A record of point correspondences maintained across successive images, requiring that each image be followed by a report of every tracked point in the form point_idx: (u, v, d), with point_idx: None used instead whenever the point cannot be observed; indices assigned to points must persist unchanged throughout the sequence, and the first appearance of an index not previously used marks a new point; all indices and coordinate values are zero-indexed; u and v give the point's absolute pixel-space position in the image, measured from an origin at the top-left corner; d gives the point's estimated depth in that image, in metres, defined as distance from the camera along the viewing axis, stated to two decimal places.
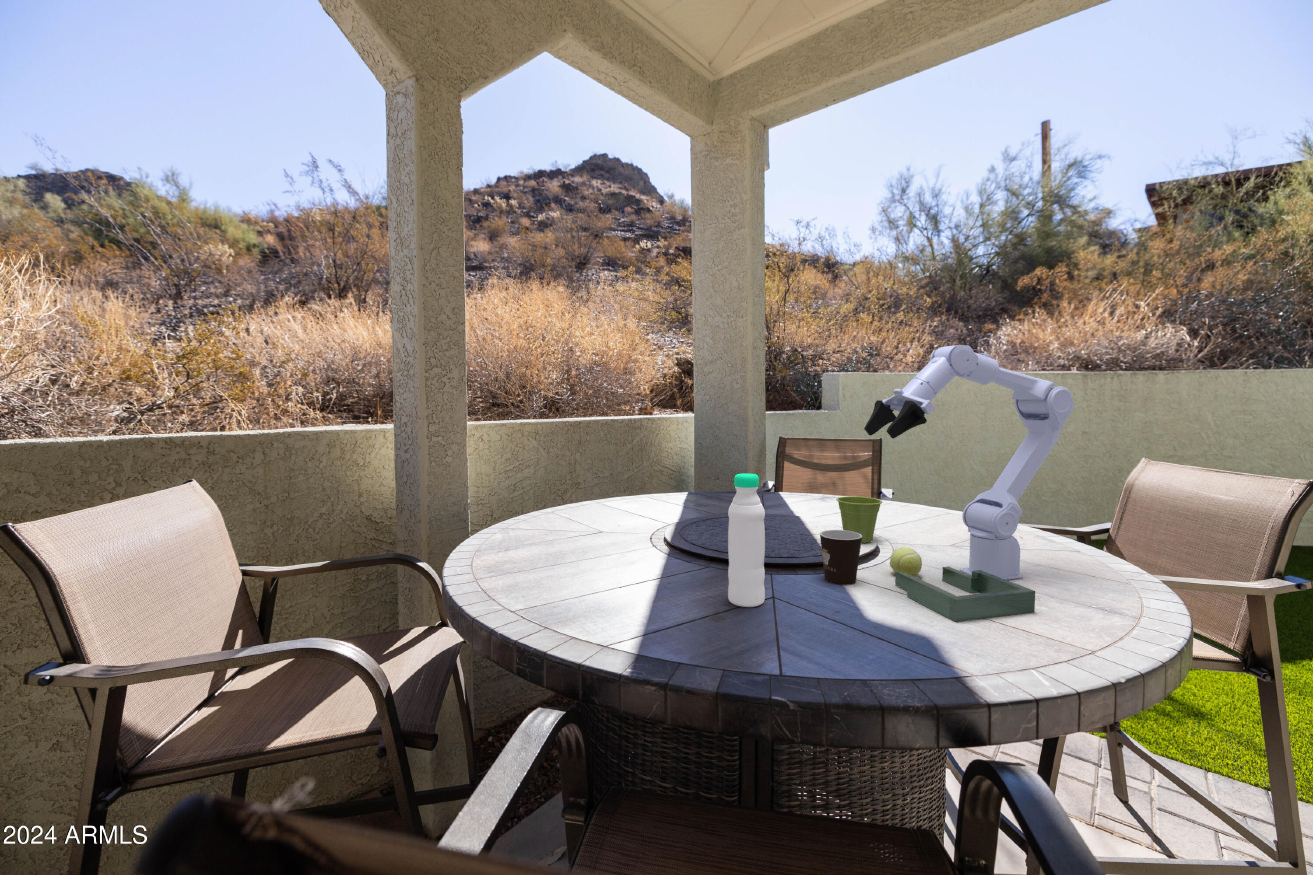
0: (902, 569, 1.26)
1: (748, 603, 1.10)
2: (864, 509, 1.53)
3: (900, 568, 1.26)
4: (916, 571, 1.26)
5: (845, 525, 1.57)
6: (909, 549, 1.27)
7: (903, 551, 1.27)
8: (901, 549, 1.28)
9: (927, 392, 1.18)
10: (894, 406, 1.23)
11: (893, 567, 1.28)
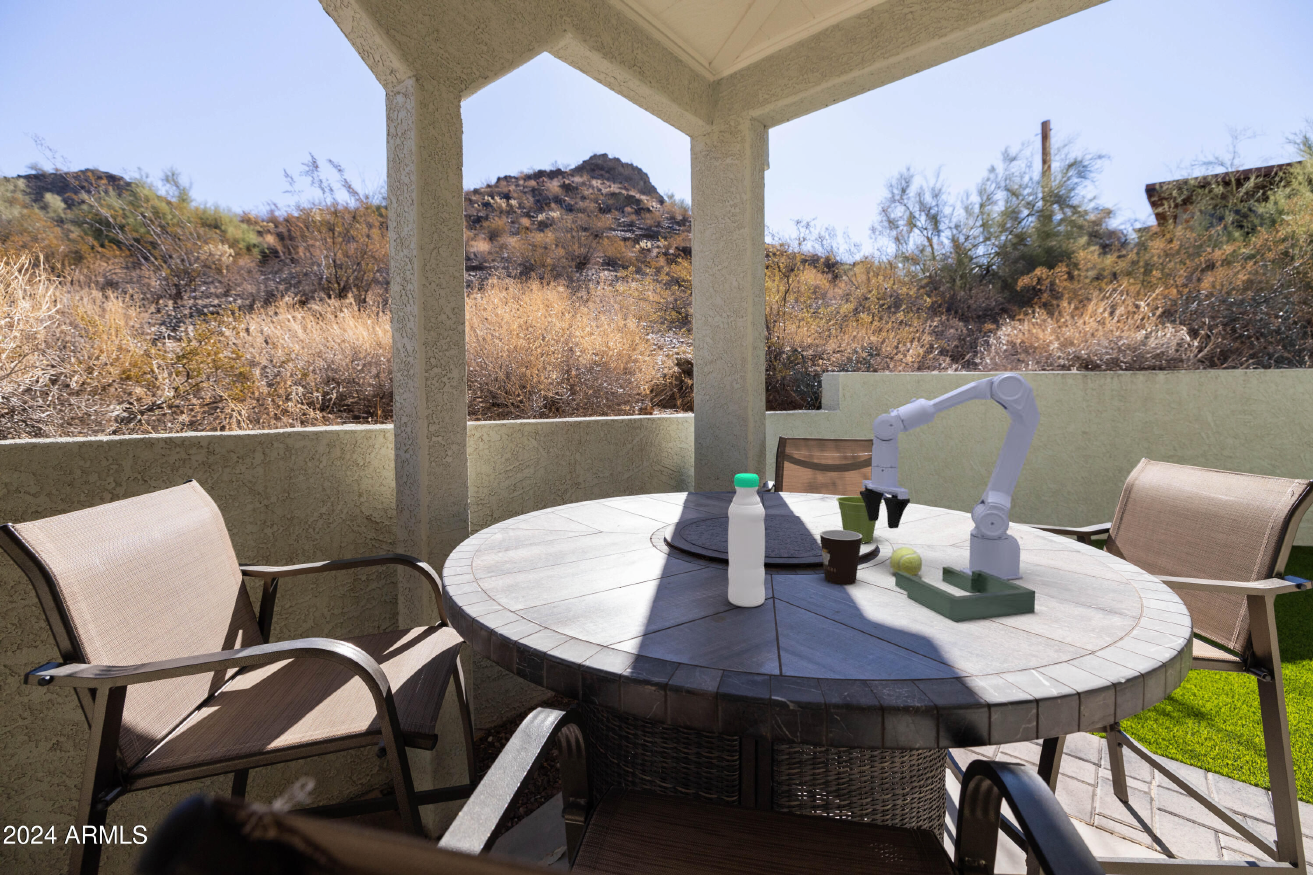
0: (902, 569, 1.26)
1: (748, 603, 1.10)
2: (864, 509, 1.53)
3: (900, 568, 1.26)
4: (916, 571, 1.26)
5: (845, 525, 1.57)
6: (909, 549, 1.27)
7: (903, 551, 1.27)
8: (901, 549, 1.28)
9: (891, 473, 1.32)
10: (875, 489, 1.38)
11: (893, 567, 1.28)
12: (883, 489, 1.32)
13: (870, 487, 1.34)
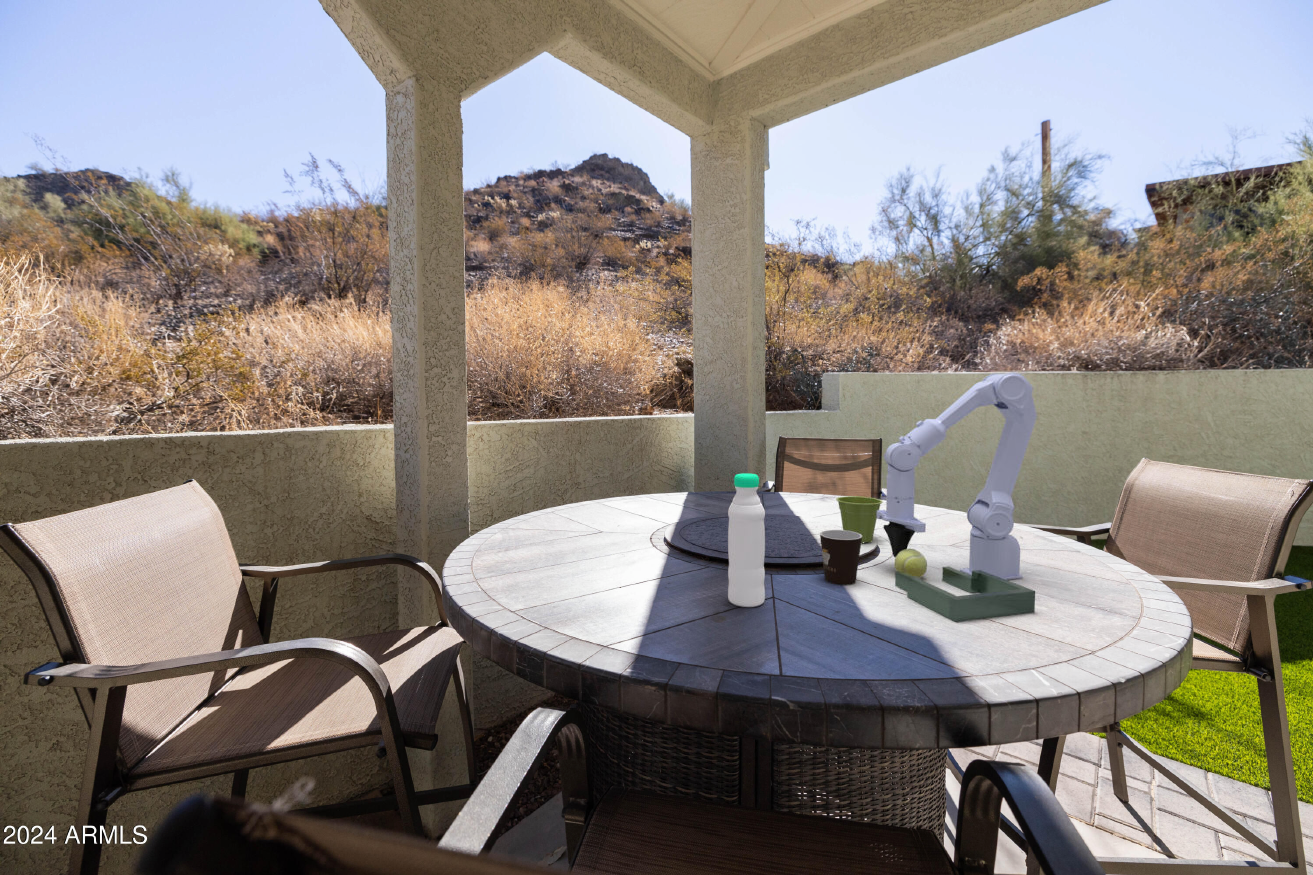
0: (907, 571, 1.25)
1: (748, 603, 1.10)
2: (864, 509, 1.53)
3: (905, 570, 1.25)
4: (921, 573, 1.24)
5: (845, 525, 1.57)
6: (914, 551, 1.26)
7: (907, 553, 1.26)
8: (906, 551, 1.26)
9: (907, 505, 1.27)
10: None
11: (898, 569, 1.26)
12: (899, 521, 1.27)
13: (885, 519, 1.29)
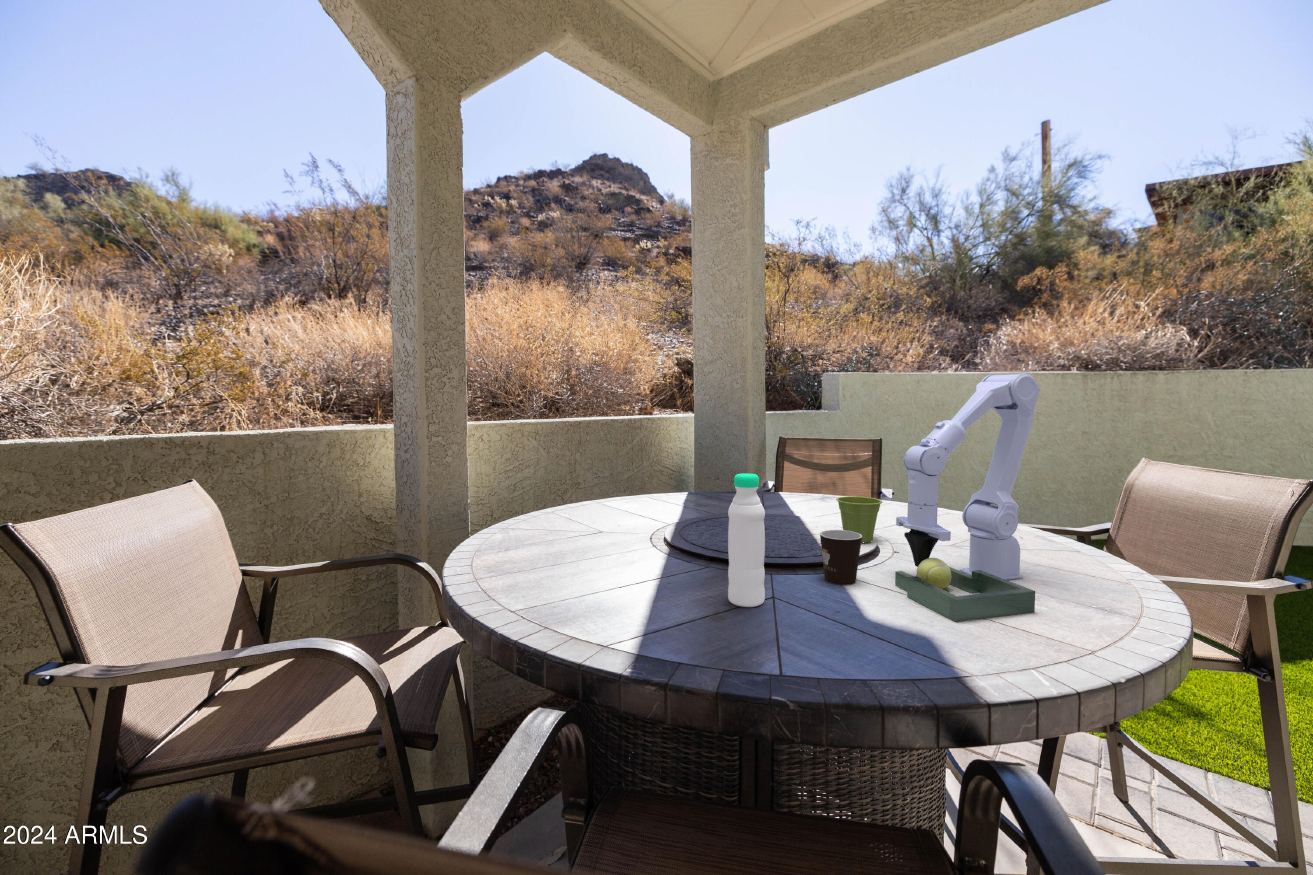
0: (930, 582, 1.17)
1: (748, 603, 1.10)
2: (863, 509, 1.53)
3: (928, 581, 1.18)
4: (945, 584, 1.17)
5: (845, 525, 1.57)
6: (938, 560, 1.19)
7: (931, 563, 1.18)
8: (929, 560, 1.19)
9: (931, 511, 1.20)
10: None
11: None
12: (922, 529, 1.20)
13: (907, 526, 1.22)
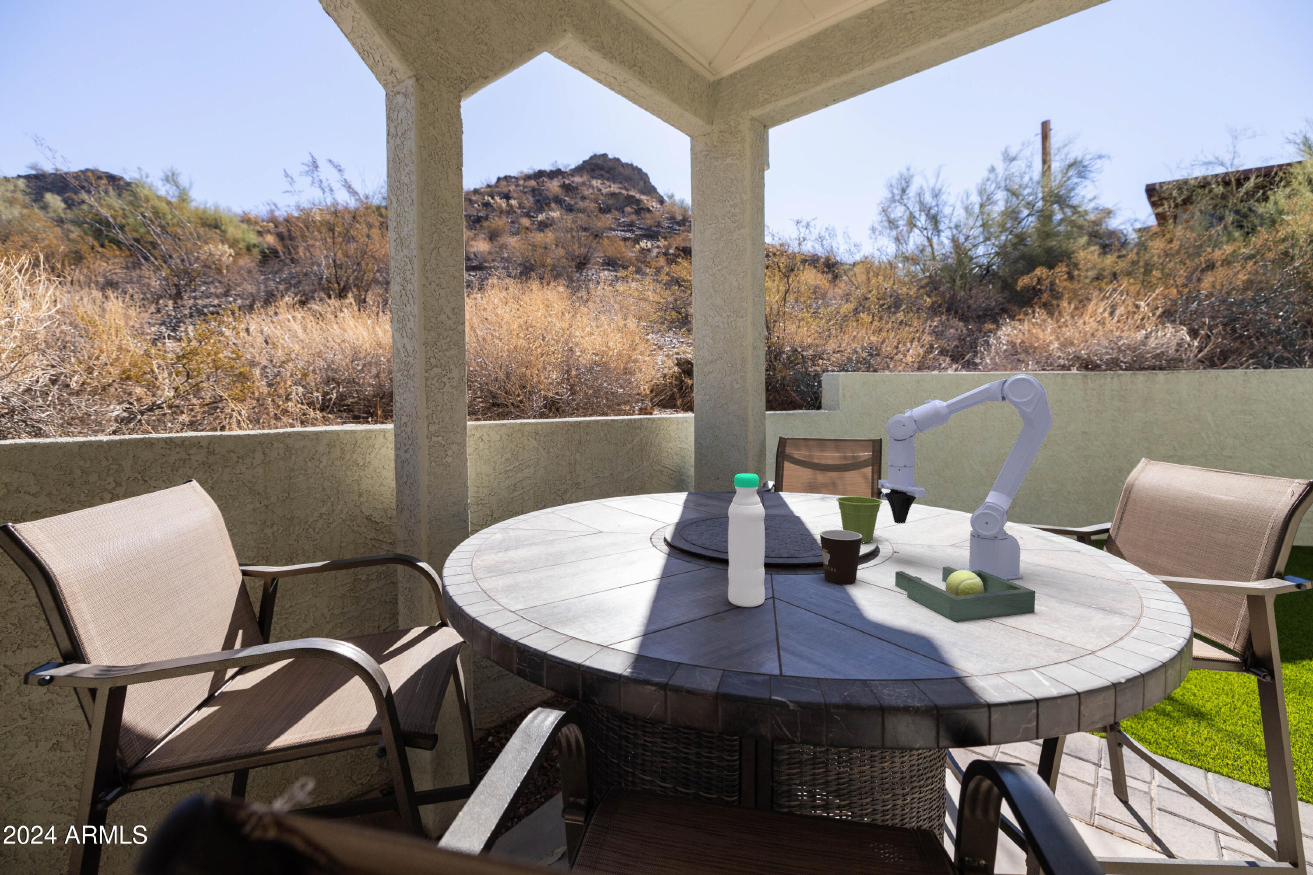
0: None
1: (748, 603, 1.10)
2: (863, 509, 1.53)
3: (959, 595, 1.10)
4: None
5: (845, 525, 1.57)
6: (969, 573, 1.11)
7: (962, 576, 1.10)
8: (959, 573, 1.11)
9: (908, 472, 1.34)
10: (892, 488, 1.40)
11: None
12: (900, 488, 1.34)
13: (887, 486, 1.36)
